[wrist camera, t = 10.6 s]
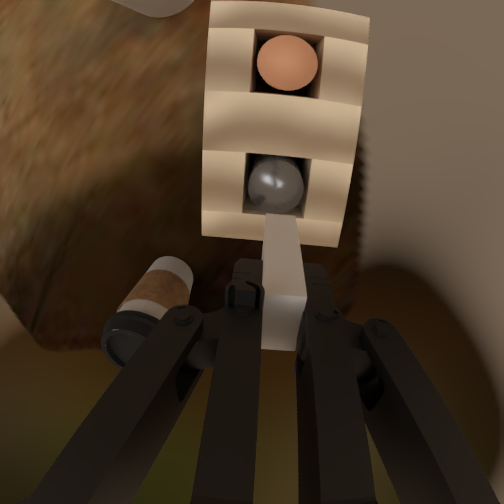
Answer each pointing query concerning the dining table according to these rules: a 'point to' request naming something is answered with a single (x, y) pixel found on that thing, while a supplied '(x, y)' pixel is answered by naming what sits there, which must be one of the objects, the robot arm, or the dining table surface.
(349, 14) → the birch block
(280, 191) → the peg steel
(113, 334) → the coffee cup
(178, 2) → the cup
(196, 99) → the dining table surface
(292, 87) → the peg terracotta
